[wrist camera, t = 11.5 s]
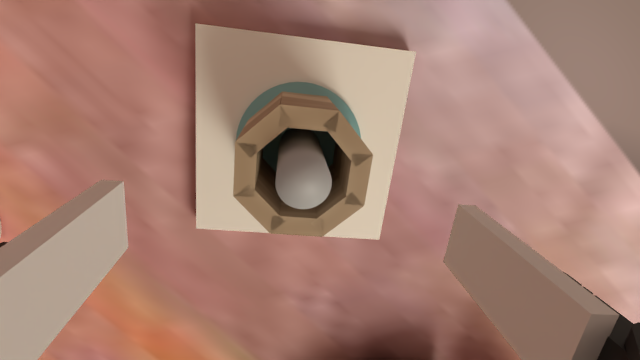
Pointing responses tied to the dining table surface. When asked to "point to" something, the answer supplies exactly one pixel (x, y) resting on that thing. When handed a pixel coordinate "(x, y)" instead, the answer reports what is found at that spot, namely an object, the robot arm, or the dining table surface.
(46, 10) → the dining table surface
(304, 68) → the post stand
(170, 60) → the dining table surface
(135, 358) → the dining table surface
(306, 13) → the dining table surface
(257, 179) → the maple ring
